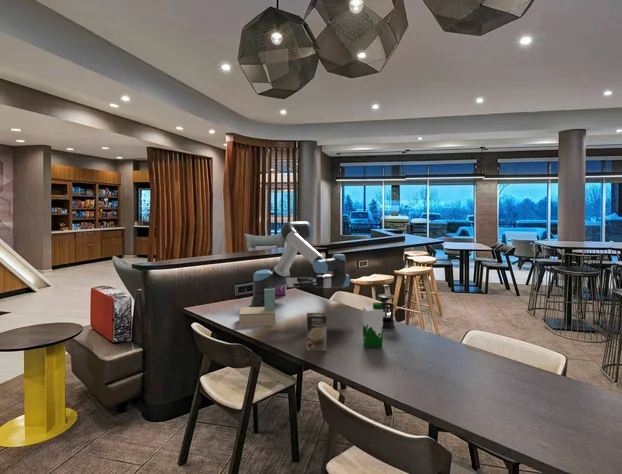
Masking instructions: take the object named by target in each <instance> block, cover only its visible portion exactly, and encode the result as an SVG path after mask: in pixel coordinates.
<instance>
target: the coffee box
mask: <svg viewBox="0 0 622 474" xmlns="http://www.w3.org/2000/svg"><path fill="white" fill-rule="evenodd" d="M327 320H328V318H327V313H326V312H306V343H305V344H306V346H305V347H306V351H307V352H326V351H327V331H328V330H327V328H328V327H327V322H328V321H327Z"/></svg>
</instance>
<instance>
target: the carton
mask: <svg viewBox="0 0 622 474" xmlns="http://www.w3.org/2000/svg"><path fill="white" fill-rule="evenodd" d="M238 317H239V318H238V322H239V323H238V324H239V327H250V326H251V327H252V326H275V325H276V313H275V314H254V315H239V314H238Z"/></svg>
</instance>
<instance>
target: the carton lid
mask: <svg viewBox="0 0 622 474" xmlns="http://www.w3.org/2000/svg"><path fill="white" fill-rule="evenodd" d="M264 299H265V307H254V306H251V307H249V306H248V307H240V310H239V313H238V316H239V315H254V314H275V315H276V295H275V289H264Z"/></svg>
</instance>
